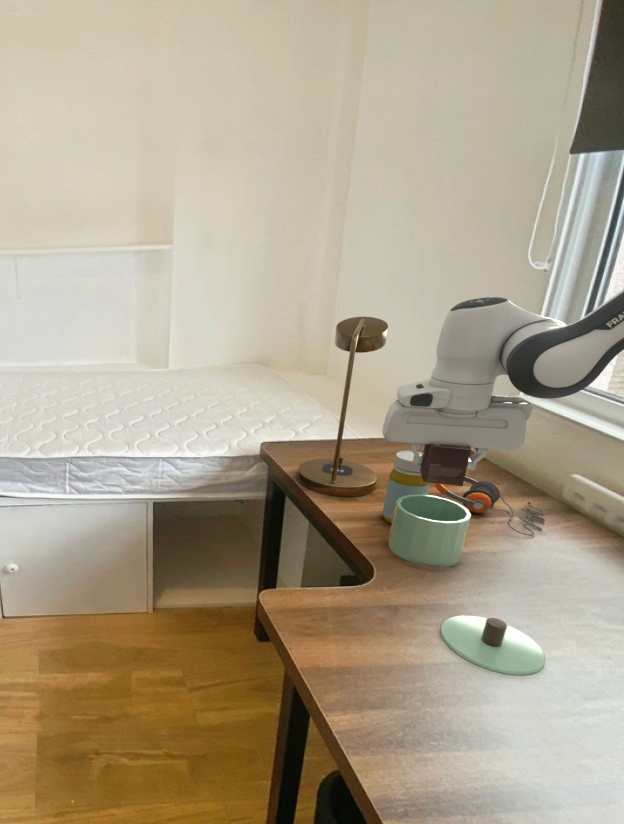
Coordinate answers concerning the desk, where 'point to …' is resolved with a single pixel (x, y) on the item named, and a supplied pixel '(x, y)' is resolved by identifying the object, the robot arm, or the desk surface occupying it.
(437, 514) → the canister
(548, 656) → the desk surface
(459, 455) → the box
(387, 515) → the bottle
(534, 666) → the lid
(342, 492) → the lamp
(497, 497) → the headphones
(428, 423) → the robot arm
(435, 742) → the desk surface
